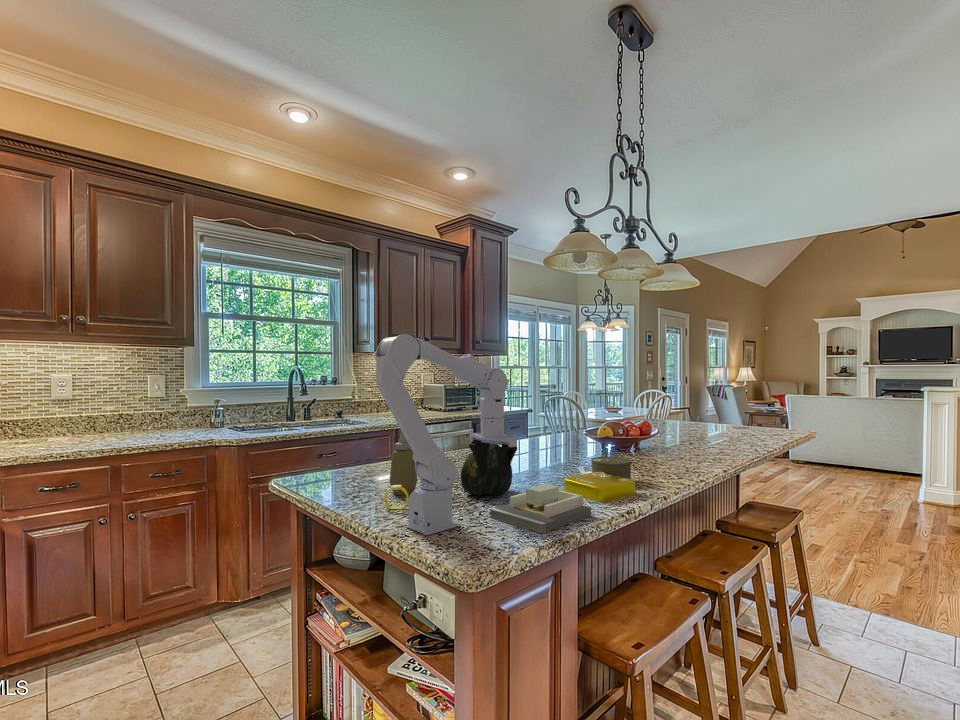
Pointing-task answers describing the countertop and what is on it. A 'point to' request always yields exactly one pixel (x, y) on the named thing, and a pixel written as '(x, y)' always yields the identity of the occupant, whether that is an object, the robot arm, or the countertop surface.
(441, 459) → the robot arm
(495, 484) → the squash
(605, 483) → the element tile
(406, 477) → the squeeze bottle
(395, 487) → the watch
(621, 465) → the can
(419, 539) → the countertop surface
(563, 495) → the dock
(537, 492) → the upright pale green block
